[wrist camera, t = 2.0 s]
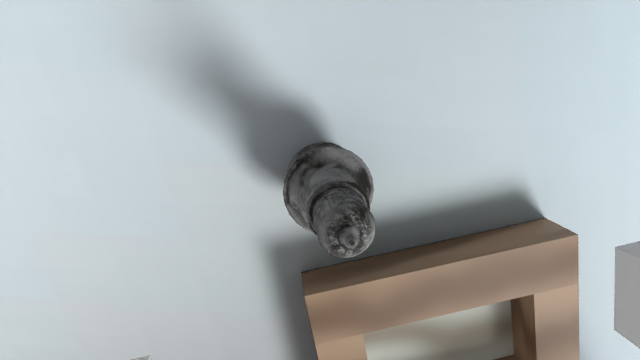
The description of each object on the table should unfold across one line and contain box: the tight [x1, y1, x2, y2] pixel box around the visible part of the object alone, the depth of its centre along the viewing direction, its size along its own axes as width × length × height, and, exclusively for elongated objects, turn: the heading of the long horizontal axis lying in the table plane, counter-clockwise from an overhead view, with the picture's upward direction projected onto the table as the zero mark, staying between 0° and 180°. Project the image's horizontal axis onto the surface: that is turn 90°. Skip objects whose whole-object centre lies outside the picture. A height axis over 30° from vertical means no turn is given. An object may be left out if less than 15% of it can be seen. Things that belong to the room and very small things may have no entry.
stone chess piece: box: [283, 143, 375, 258], centre depth 23 cm, size 6×6×12 cm
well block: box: [301, 218, 579, 360], centre depth 31 cm, size 16×20×4 cm
